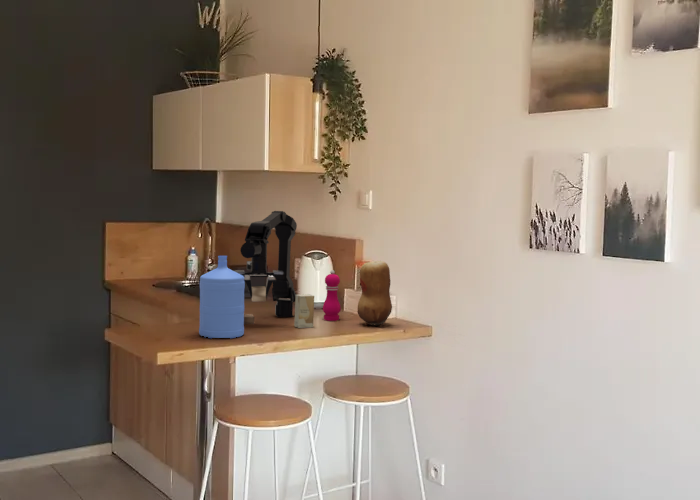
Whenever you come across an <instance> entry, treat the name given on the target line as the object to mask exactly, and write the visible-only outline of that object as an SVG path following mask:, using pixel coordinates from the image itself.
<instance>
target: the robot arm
mask: <svg viewBox="0 0 700 500" xmlns="http://www.w3.org/2000/svg"><path fill="white" fill-rule="evenodd" d="M297 225H298V224H297V222H296V220H295V218H293V217H292V216H290V215H289V214H287V213H286V211H283V210H274V211H271V213H270V214H269V215H267V216H266V217H265V218H264V219H262V220H258V221H253V222H251V223H250V225H249V226H248V229H247V232H246V235H245V238H244V241H245V242H244V243H243V244H242V245H241V246H240V255H241V256H242V257H243V258H245V259H251V260H249V261H246V271H245V270H244V269H242V270H241V269H237V270H236V269H234V271H235V272H237V273H239V274H240V275H242V276H244V281H245V284H246V287H247V289H248V293H249V296H250V299H251V298H252V282H251V278H266V285H265V287H266V298H267V296H268V294H269V290H270V288H271V286H272V289H271V295H272V302H276V304H274V305H275V310H274V313H275V316H276V317H277V318H293V317H294V314H293V306H294V303H295V298H296V295H297V293H296V290H295V288H294V282H293V281H292V278H291V276H290V275H291V273H290V272H291V251H292V250H291V246H292V245H291V242H292V240H293V239H294V237H295V235H296V230H297ZM273 229H274V235H275V236H276V238H277V239H278V256H277V258H278V261H277V263H278V264H277V270H275V269H273V270H272V272H271V271H270V272H269V271H267V267H268V266H267V265H268V263H267V261H268V244H269V237H270V235H271V234H272V230H273ZM248 271H249V272H248Z"/></svg>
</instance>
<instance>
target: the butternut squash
mask: <svg viewBox="0 0 700 500" xmlns="http://www.w3.org/2000/svg"><path fill="white" fill-rule="evenodd" d="M390 270H391V269H390V266H389V264H388V263H387V262H385V261H383V260H377V261H371V262H370V261H369V262H365V263H363V265H362V266H361V267H360V273H359V283H360V289H361V295H360V298H359V300H358V303H357V311H356V312H357V315H358V316H359V318H360V319H361V320H362V321H363V322H365V323H366V324H368V325H370V326H380V324H381V325H382V324H385V323H386V321H387V320H388V318H389V317H390V315H391V313H392V311H393V304H392V299H391V295H390V293H391V292H390V289H391V275H390V274H391V271H390Z"/></svg>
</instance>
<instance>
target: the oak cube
mask: <svg viewBox="0 0 700 500" xmlns="http://www.w3.org/2000/svg"><path fill="white" fill-rule="evenodd" d="M251 288H252V298H251V297H250V299H251V302H267V301H266V300H267V299H266V298H267V297H266V285H264V286H262V285H261V286H260V285H259V286H258V285H257V286H256V285H255V286H253V285H251Z"/></svg>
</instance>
